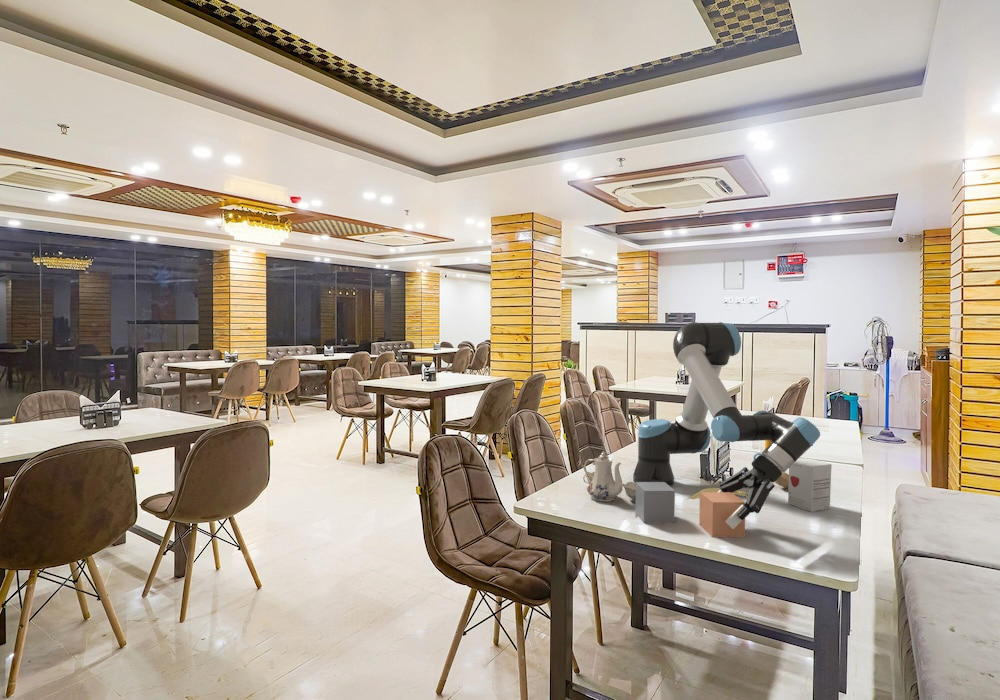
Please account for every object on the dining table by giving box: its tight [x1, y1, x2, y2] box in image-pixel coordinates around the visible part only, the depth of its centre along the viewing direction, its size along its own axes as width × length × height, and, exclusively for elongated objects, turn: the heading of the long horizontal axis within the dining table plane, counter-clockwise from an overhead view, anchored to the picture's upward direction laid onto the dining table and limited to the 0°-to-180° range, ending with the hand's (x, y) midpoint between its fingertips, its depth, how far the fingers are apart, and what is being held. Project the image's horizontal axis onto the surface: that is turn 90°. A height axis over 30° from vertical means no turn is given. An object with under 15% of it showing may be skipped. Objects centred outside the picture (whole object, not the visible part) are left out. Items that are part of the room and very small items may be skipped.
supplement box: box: [787, 457, 833, 513], centre depth 176 cm, size 9×9×15 cm
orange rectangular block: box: [698, 492, 746, 538], centre depth 150 cm, size 9×9×11 cm
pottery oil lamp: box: [774, 471, 789, 489], centre depth 195 cm, size 9×12×7 cm
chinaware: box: [583, 451, 636, 503], centre depth 186 cm, size 28×17×17 cm, turn 44°
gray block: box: [634, 482, 676, 524], centre depth 161 cm, size 9×9×11 cm
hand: (717, 516), depth 150 cm, fingers open, 13 cm apart
